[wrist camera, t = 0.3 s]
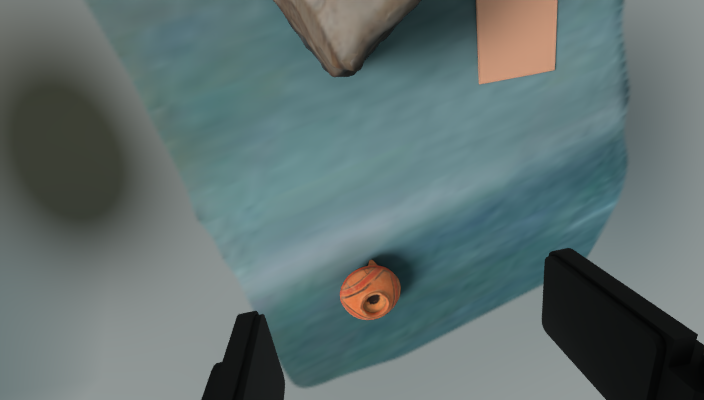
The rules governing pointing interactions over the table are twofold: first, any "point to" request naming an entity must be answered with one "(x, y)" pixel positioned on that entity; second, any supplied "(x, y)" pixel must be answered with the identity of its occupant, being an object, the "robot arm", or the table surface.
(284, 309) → the table surface
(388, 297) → the pot
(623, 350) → the robot arm
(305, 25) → the brown owl figurine
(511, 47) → the board
